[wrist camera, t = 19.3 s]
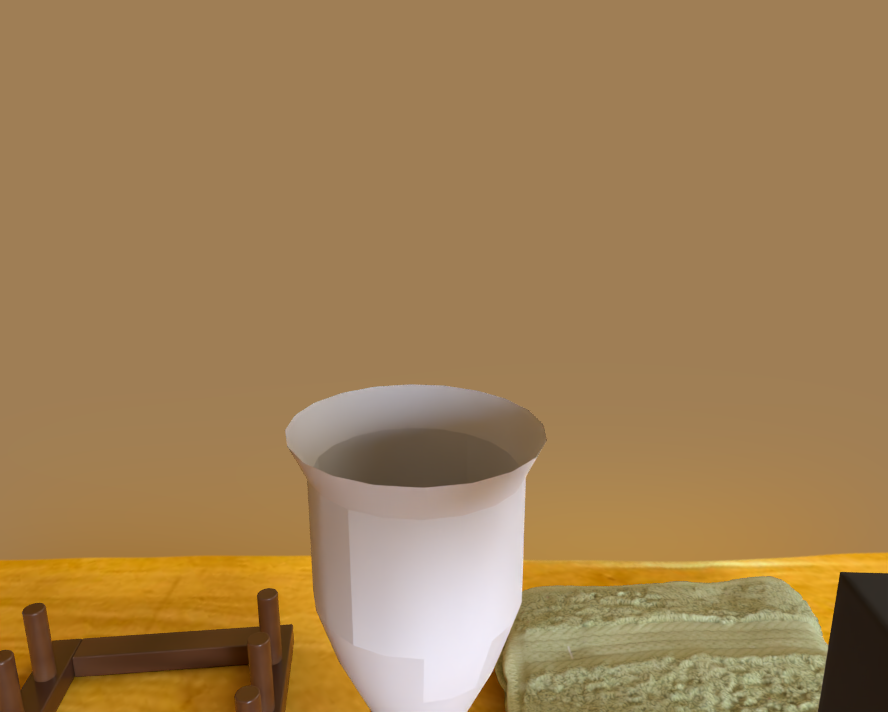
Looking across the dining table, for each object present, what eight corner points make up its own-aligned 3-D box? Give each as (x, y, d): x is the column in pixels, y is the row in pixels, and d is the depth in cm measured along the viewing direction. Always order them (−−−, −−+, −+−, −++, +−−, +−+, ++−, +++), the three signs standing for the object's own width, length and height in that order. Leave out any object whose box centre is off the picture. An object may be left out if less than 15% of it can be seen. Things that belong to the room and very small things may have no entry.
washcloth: (484, 617, 43) (484, 568, 42) (786, 613, 44) (793, 564, 43) (507, 812, 31) (508, 749, 30) (931, 804, 31) (946, 741, 30)
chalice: (297, 873, 27) (263, 401, 22) (469, 811, 29) (474, 374, 24) (352, 1108, 20) (321, 510, 15) (568, 1003, 23) (602, 459, 18)
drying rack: (294, 642, 41) (288, 562, 40) (267, 849, 29) (258, 744, 28) (54, 659, 40) (40, 576, 38) (-78, 884, 28) (-106, 775, 26)
